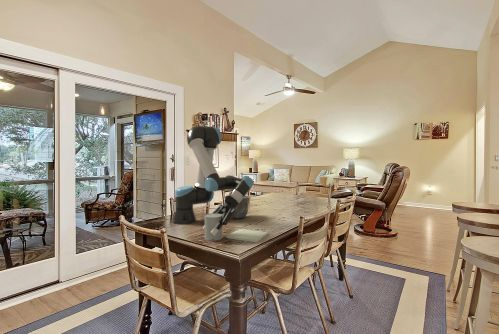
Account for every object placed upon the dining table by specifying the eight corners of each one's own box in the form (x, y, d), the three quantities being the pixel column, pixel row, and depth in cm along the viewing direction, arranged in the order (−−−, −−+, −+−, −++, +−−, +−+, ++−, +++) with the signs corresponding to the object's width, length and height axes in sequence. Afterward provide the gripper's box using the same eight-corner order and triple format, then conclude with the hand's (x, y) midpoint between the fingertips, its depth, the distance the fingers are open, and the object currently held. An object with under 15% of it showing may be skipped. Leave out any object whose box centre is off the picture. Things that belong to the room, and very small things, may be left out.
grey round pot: (218, 218, 194) (218, 197, 194) (234, 213, 209) (234, 194, 208) (238, 221, 184) (238, 199, 184) (253, 216, 199) (253, 196, 198)
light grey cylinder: (214, 241, 143) (214, 218, 142) (200, 238, 148) (200, 216, 147) (226, 237, 151) (225, 214, 150) (212, 234, 156) (212, 212, 155)
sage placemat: (226, 237, 149) (226, 236, 149) (240, 230, 164) (240, 228, 163) (256, 242, 141) (256, 240, 141) (268, 234, 156) (268, 232, 156)
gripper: (248, 206, 148) (222, 241, 140) (228, 200, 166) (204, 231, 158) (240, 197, 144) (213, 232, 136) (220, 192, 163) (195, 223, 155)
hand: (208, 231), depth 147 cm, fingers closed on light grey cylinder, 9 cm apart
